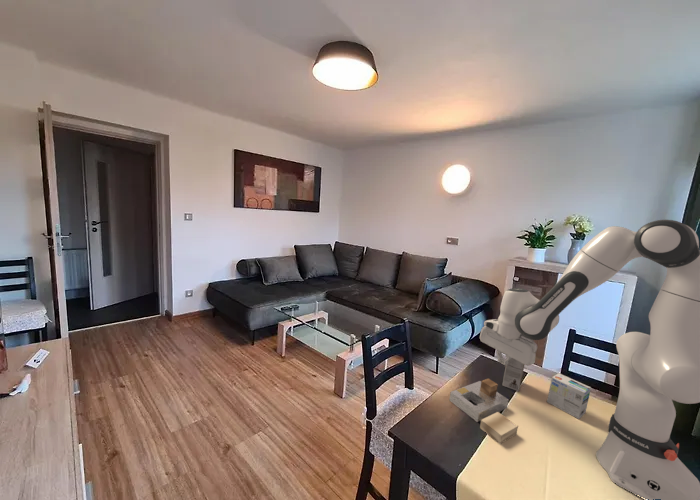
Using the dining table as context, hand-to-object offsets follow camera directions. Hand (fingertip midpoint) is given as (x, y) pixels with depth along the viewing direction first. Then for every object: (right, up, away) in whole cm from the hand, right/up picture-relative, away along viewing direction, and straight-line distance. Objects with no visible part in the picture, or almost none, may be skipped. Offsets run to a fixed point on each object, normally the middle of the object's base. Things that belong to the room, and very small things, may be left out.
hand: (502, 363), depth 111 cm
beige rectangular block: (-10, -16, -17) cm, 25 cm away
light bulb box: (+23, -16, -2) cm, 28 cm away
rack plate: (-11, -13, -4) cm, 18 cm away
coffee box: (+9, -13, +11) cm, 19 cm away
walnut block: (-7, -10, -2) cm, 12 cm away
